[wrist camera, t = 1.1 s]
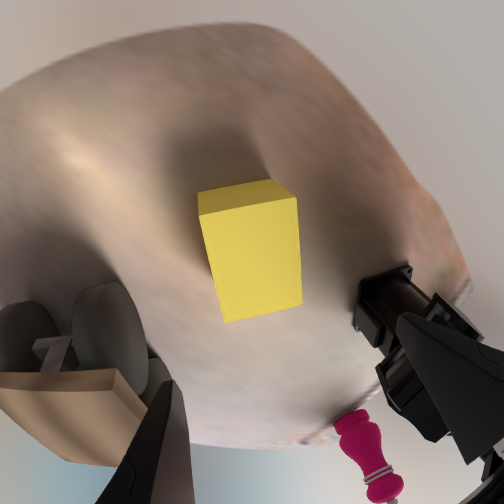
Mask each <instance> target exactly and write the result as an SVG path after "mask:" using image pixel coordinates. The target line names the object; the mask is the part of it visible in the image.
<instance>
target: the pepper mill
mask: <svg viewBox="0 0 504 504" xmlns="http://www.w3.org/2000/svg"><path fill="white" fill-rule="evenodd" d="M369 418H370V417H369V415H368V413H367V411H366V410H364V409H360V410H356V411H353V412H351V413H349V414H347V415H345V416H343V417H342V418H341V419H339V420H338V421H337V422H336V423H335V425H334V427H335V430H336V432H337V434H338V435H342V436H341V439H340V442H339V445H340V447H341V449H342V450H343V452H344V453H345V454H346V455H347V456H349V457H350V458H351V459H353V460H354V461H355V462H356V463H357V464H358V465H359V466H360V467H361V469H362V471H363V474H364V477H365V478H364V479H363V481H365V485H368V490H367V497H368V499H369V500H370V501H371V502H373V503H376V504H380V503H385V502H387V504H397V503H398V500H397V499H395V497H396V496H398V495H399V494H400V492H401V491H402V489H403V486H404V483H403V480H402V478H401V476H399V475H397V474H394V473H392V472H393V471H394V469H392V465H388V464H387V462H386V461H385V459H384V457H383V454H382V449H381V433H380V429H379V427H378V425H377V424H375V423H373V422H369Z"/></svg>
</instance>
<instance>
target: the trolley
mask: <svg viewBox="0 0 504 504" xmlns="http://www.w3.org/2000/svg"><path fill="white" fill-rule="evenodd" d="M78 363H79V364H80V367H77V366H78ZM170 379H172V378H171V375H170V373H169V371H168V369H167V367H166V365H165V364H164V363H163V361H162V360H160V359H159V358H151V359H148V351H147V344H146V339H145V334H144V330H143V326H142V323H141V320H140V317H139V314H138V311H137V309H136V306H135V304H134V302H133V300H132V298H131V296H130V295H129V293H128V292H127V290H126V289H125V288H124V287H123V286H122V285H120V284H119V283H116V282H111V283H107V284H102V285H97V286H93V287H89V288H86V289H84V290H83V291H82V292H81V293H80V294H79V296H78V298H77V300H76V302H75V306H74V309H73V316H72V335H67V336H60V335H59V332H58V329H57V327H56V325H55V323H54V321H53V319H52V318H51V316H50V315H49V314H48V312H47V311H46V310H45V309H44V308H43V307H42V306H40V305H39V304H37V303H35V302H31V301H25V302H20V303H15V304H11V305H8V306H6V307H4V308H3V309H2V310H1V311H0V409H2V410H3V411H4V412H5V413H6V414H7V415H8V416H9V417H10V418H11V419H12V420H13V421H14V422H15V423H17V424H18V425H19V426H20V427H21V428H22V429H24V430H25V431H26V432H27V433H28V434H30V435H31V436H32V437H33V438H35V439H36V440H37V441H39V442H40V443H41V444H42V445H44V446H45V447H46V448H48V449H49V450H51V451H52V452H54V453H55V454H56V455H58V456H59V457H61V458H62V459H64V460H65V461H69V462H74V463H81V464H88V465H97V466H108V467H119V465H120V463H121V461H122V459H123V457H124V455H126V451H127V449H128V447H129V445H130V443H131V441H132V439H133V437H134V435H135V433H136V431H137V429H138V427H139V425H140V423H141V422H142V420H143V418H144V416H145V414H146V412H147V410H148V408H149V406H150V404H151V402H152V400H153V398H154V396H155V394H156V392H157V391H158V389H159V387H160V385H161V383H162V382H163V381H164V380H170Z"/></svg>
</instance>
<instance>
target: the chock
mask: <svg viewBox="0 0 504 504" xmlns="http://www.w3.org/2000/svg"><path fill="white" fill-rule="evenodd" d="M198 213H199V220H200V224H201V229H202V233H203V237H204V242H205V246H206V250H207V255H208V259H209V263H210V267H211V271H212V275H213V279H214V283H215V287H216V291H217V295H218V299H219V303H220V307H221V310H222V314H223V318H224V322H225V323H228V322H233V321H237V320H242V319H246V318H250V317H255V316H259V315H263V314H267V313H271V312H275V311H279V310H283V309H287V308H291V307H295V306H298V305H302V280H301V259H300V242H299V227H298V213H297V200H296V196H294V195H293V194H291V193H290V192H289V191H287V190H286V189H285V188H283V187H282V186H281V185H279V184H278V183H276V182H275V181H274V180H272V179H266V180H260V181H255V182H249V183H243V184H238V185H233V186H227V187H222V188H217V189H212V190H207V191H203V192H198Z"/></svg>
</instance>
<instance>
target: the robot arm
mask: <svg viewBox="0 0 504 504" xmlns="http://www.w3.org/2000/svg"><path fill="white" fill-rule="evenodd" d="M412 271H413V268H412V267H411V266H410V265H407V266H404V267H401V268H398V269H395V270H392V271H389V272H385V273H382V274H379V275H376V276H373V277H370V278H366V279H364V280H362V281H361V282H360V284H359V292H358V301H357V304H356V312H355V320H354V322H355V324H354V329H355V331H356V332H360V331H361V332H362V333H363V334H364V336H365V337H366V338H367V340H368V341H369V343H370V344H371V345H372V347H374V348H377V347H378V348H379V349H380V351H381V352H382V354H383V355H384V356H385V358H384V360H383V361H382V362H381V363H379V364H378V365H377V366H376V367H375V369H376V372H377V374H378V378H379V380H380V383H381V386H382V388H383V391H384V394H385V396H386V399H387V402H388V405H389V406H390V407H391V408H392V409H393V410H394V411H395V412H397V413H398V414H399V415H401V416H403V417H404V418H406V419H407V420H408V421H410V422H411V423H412V424H413V425H414V426H415V427H416V428H417V429H418V431H419V432H420V433H421V434H422V436H423V437H424V438H425V439H426V440H428V441H431V442H434V443H437V442H439V441H440V440H441V439H442V438H444V437H445V436H453V438H454V440H455V442H456V444H457V446H458V448H459V450H460V452H461V455H462V457H463V458H464V461H465V463H466V464H467V465H469V464H470V463H471V462H473V461H474V460H476V459H477V458H478V457H480V458H481V459H482V460H483V461H484V462H485V465H484V470H483V474H482V478H481V480H482V482H483V483H482V484H481V485H480V486H479V487H478V488H477V489H476V490H475V491H473V492H472V493H471V494H470V495H469V496H468V497H466V498H465V499H464V500H463V501H461V502H460V503H459V504H504V352H503V351H500V350H498V349H495V348H492V347H489V346H487V345H484V344H482V343H481V342H482V341H483V339H484V338H485V337H484V336H483V335H482V334H481V332H480V331H479V330H478V329H477V328H476V326H475V325H474V324H473V323H472V322H471V321H470V320H469V318H467V316H465V315H464V314H463V313H462V312H461V311H460V310H459V309H458V308H457V307H456V306H454V305H453V304H452V303H451V302H449V301H448V300H446V299H445V298H444V297H442V296H441V295H439V294H438V293H436V292H435V294H434V295H433V298H432V300H431V299H430V298H429V297H428V296H427V295H426V294H425V293H424V292H422V291H421V290H420V289H419V288H418V287H417V286H416V285H415V284H413V283H412V282H411V276H412ZM95 504H195V498H194V489H193V479H192V469H191V456H190V442H189V430H188V424H187V418H186V413H185V407H184V401H183V395H182V392H181V390H180V388H179V387H178V385H177V384H176V382H175V380H173V379H170V380H164V381H163V382H162V383H161V385H160V387H159V389H158V391H157V392H156V394H155V396H154V398H153V400H152V402H151V404H150V406H149V408H148V410H147V412H146V414H145V416H144V418H143V420H142V422H141V423H140V425H139V427H138V429H137V431H136V433H135V435H134V437H133V439H132V441H131V443H130V445H129V447H128V449H127V451H126V455H124V457H123V459H122V461H121V463H120V465H119V467H118V468H117V470H116V472H115V474H114V475H113V477H112V479H111V480H110V482H109V483H108V485H107V486H106V488H105V489H104V491H103V492H102V494H101V495H100V497H99V498H98V500H97V501H96V503H95Z"/></svg>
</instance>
